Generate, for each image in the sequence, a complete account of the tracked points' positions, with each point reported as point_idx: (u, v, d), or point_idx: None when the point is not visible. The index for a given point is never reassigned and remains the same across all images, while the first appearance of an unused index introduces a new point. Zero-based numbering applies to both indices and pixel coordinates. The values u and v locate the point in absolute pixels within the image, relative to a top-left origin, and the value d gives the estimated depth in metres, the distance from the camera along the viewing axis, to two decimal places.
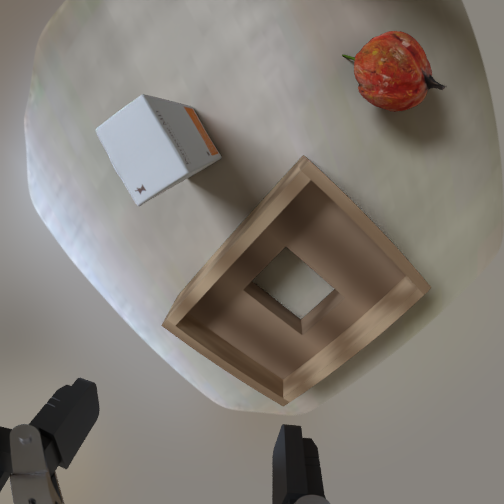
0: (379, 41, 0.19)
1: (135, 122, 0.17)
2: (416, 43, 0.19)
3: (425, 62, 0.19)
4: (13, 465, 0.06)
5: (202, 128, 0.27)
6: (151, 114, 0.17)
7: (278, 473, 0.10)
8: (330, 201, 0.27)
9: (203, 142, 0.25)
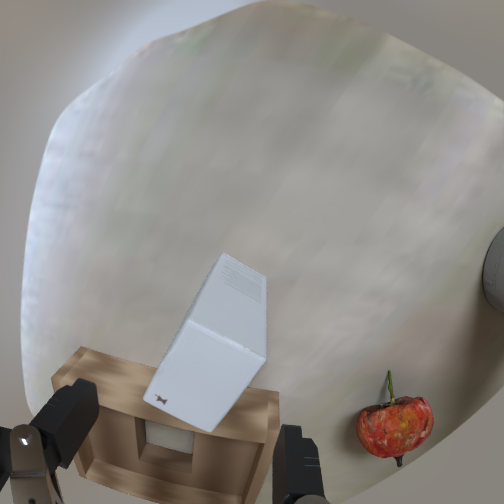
0: (416, 418, 0.22)
1: (227, 369, 0.14)
2: (427, 436, 0.22)
3: None
4: (13, 465, 0.06)
5: None
6: (248, 382, 0.14)
7: (278, 473, 0.10)
8: None
9: None
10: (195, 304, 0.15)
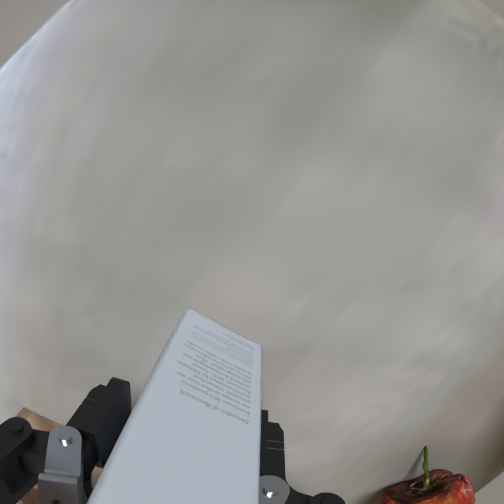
0: None
1: None
2: None
3: None
4: (46, 464, 0.07)
5: None
6: None
7: None
8: None
9: None
10: (101, 484, 0.05)
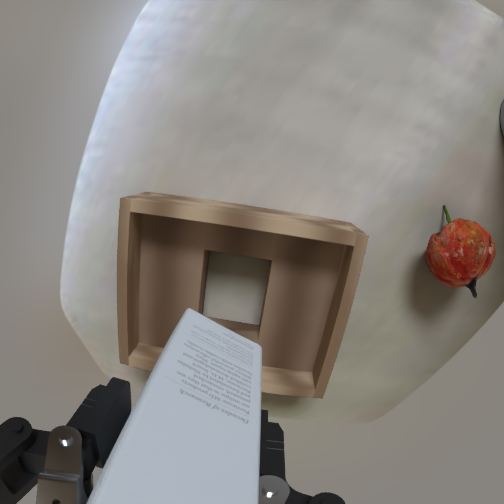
0: (480, 230, 0.24)
1: None
2: (493, 257, 0.24)
3: (484, 272, 0.24)
4: (46, 464, 0.07)
5: None
6: None
7: None
8: (335, 270, 0.28)
9: None
10: (100, 483, 0.05)
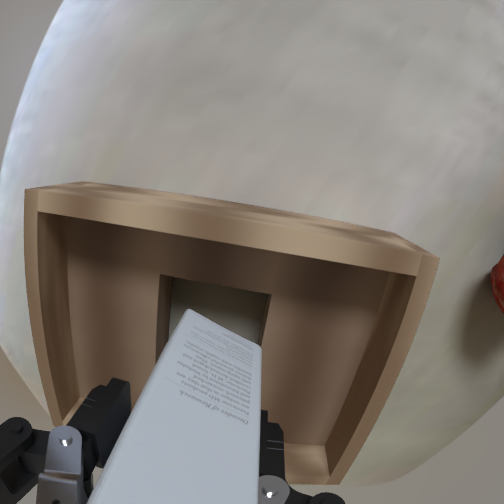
0: None
1: None
2: None
3: None
4: (46, 464, 0.07)
5: None
6: None
7: None
8: (372, 310, 0.17)
9: None
10: (100, 484, 0.05)
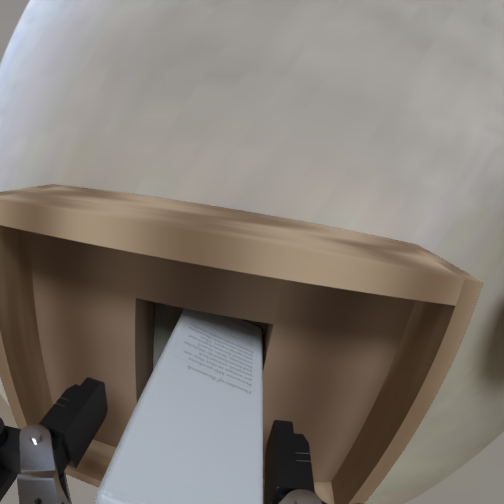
0: None
1: None
2: None
3: None
4: (21, 464, 0.06)
5: None
6: None
7: (269, 468, 0.10)
8: (394, 340, 0.13)
9: None
10: (120, 446, 0.06)
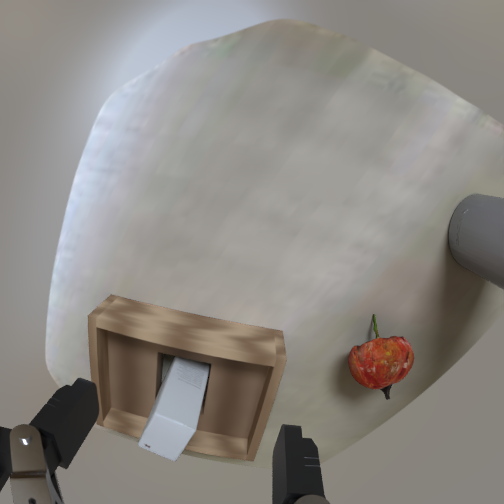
0: (398, 349, 0.29)
1: (177, 434, 0.25)
2: (409, 369, 0.30)
3: (398, 381, 0.30)
4: (13, 465, 0.06)
5: None
6: (188, 439, 0.25)
7: (278, 473, 0.10)
8: (263, 373, 0.33)
9: None
10: (159, 401, 0.26)
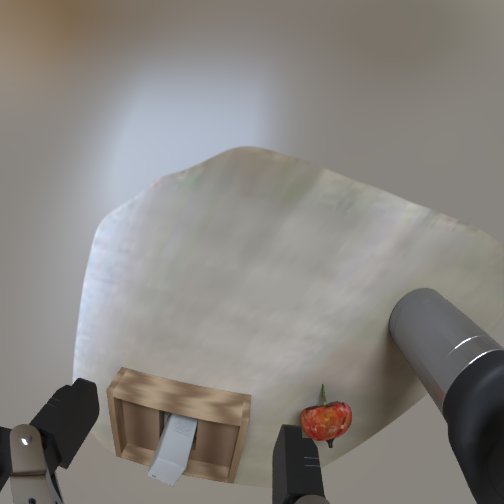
0: (335, 416, 0.38)
1: (173, 470, 0.34)
2: (346, 428, 0.38)
3: (338, 436, 0.39)
4: (13, 465, 0.06)
5: None
6: (181, 473, 0.34)
7: (278, 473, 0.10)
8: (236, 425, 0.42)
9: None
10: (160, 449, 0.35)
